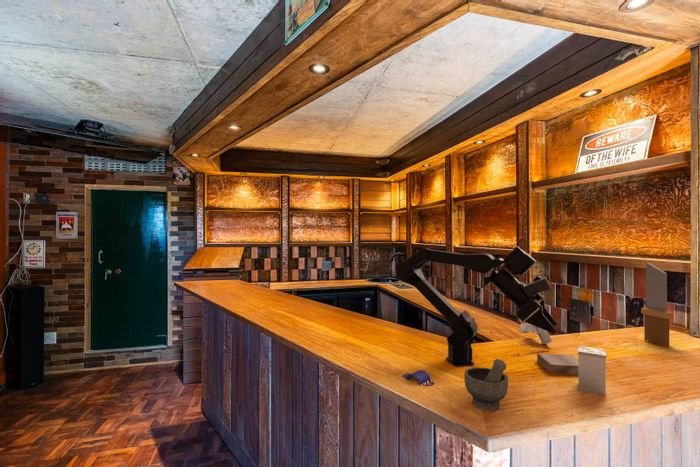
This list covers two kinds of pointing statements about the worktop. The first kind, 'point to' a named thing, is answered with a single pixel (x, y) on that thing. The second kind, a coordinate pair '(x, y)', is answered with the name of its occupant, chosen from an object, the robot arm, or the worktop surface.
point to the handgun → (542, 333)
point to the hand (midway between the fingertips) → (555, 328)
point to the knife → (656, 306)
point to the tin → (592, 370)
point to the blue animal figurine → (420, 377)
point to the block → (559, 363)
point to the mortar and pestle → (487, 385)
